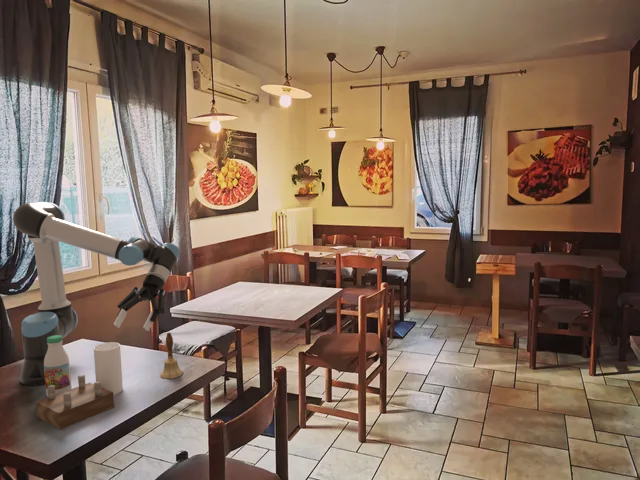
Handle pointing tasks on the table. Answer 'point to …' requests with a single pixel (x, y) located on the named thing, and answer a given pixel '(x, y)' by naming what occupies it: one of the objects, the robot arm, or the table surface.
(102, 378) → the cup
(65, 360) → the milk bottle
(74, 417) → the riser
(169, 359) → the hand bell
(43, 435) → the table surface
